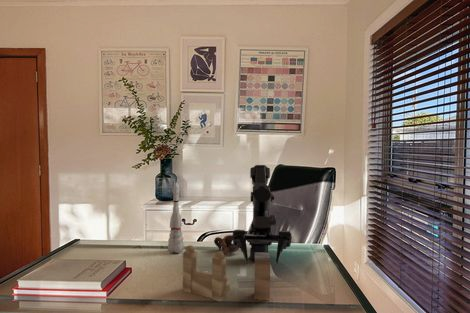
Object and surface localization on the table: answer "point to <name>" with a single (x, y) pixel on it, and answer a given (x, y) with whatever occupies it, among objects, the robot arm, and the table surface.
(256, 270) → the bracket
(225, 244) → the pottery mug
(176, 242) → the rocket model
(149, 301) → the table surface
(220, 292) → the wooden block tower
